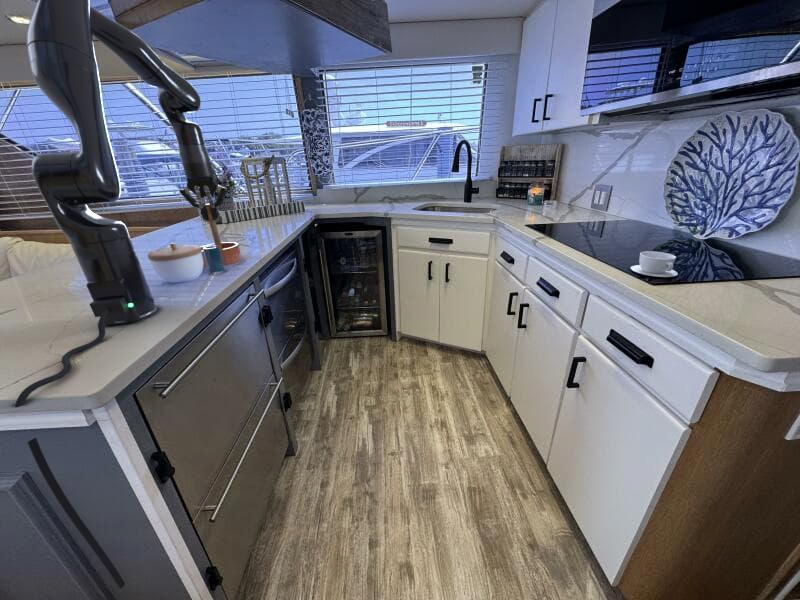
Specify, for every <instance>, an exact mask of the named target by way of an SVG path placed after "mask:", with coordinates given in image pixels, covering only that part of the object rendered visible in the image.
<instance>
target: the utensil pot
mask: <svg viewBox="0 0 800 600" xmlns="http://www.w3.org/2000/svg"><path fill="white" fill-rule="evenodd" d="M203 251H204V255H205V258H206V262H207V265H208V267H207V269H208V271H209V272H210V273H218V272H222V271H224V270H225V269H226V268H225V266H224V264H223V260H222V256H221V252H220V249H219V246H216V245H214V246H207V247H204V248H203Z"/></svg>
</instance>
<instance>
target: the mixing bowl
mask: <svg viewBox="0 0 800 600" xmlns="http://www.w3.org/2000/svg"><path fill="white" fill-rule="evenodd" d="M214 245H215V243H210V244H205V245H202V246H200V247H201V252H202V256H203V261H204V267H203V268H208V265H207V262H206V258H205V255H204V251H203V248H204V247H207V246H214ZM221 245H222V249H221V250H220V252H221V256H222V260H223V264H224V267H225V266H230V265H234V264H237V263H239V262H241V261H242V260H243V258H242V254H241V249H240V245H239V243H238V242H234V241H225V242H221Z"/></svg>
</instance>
